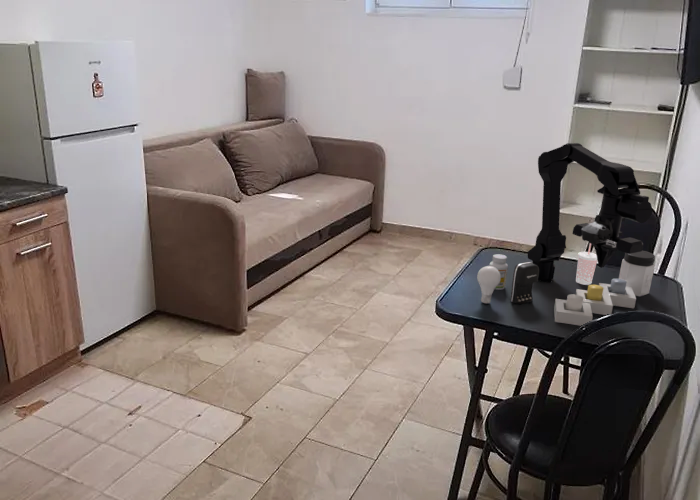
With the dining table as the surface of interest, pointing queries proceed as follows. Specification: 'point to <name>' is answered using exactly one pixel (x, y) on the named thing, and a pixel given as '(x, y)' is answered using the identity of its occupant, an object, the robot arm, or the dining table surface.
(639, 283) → the jar
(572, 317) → the offwhite housing
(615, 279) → the slate button
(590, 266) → the beverage cup
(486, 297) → the lightbulb
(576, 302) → the offwhite button
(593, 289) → the mustard button
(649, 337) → the dining table surface
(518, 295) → the battery charger
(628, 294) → the light gray housing
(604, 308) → the hollow square frame
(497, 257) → the supplement bottle
